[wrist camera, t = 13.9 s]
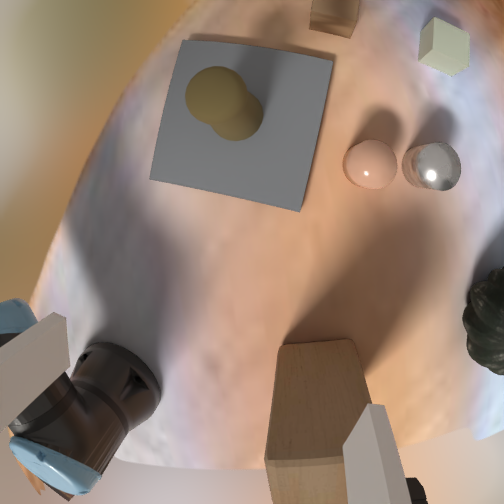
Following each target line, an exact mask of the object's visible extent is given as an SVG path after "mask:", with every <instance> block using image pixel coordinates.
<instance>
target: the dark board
mask: <svg viewBox="0 0 504 504" xmlns="http://www.w3.org/2000/svg"><path fill="white" fill-rule="evenodd" d="M332 65H333V61H330V60H325V59H321V58H317V57H313V56H308V55H303V54H299V53H293V52H288V51H283V50H277V49H271V48H265V47H258V46H251V45H243V44H234V43H224V42H212V41H197V40H183V41H182V44H181V47H180V50H179V54H178V57H177V61H176V64H175V68H174V71H173V75H172V79H171V82H170V86H169V90H168V94H167V98H166V102H165V106H164V110H163V115H162V119H161V123H160V128H159V132H158V137H157V142H156V147H155V152H154V157H153V162H152V167H151V173H150V178H149V179H150V180H155V181H161V182H166V183H171V184H176V185H181V186H186V187H191V188H195V189H200V190H205V191H210V192H214V193H219V194H224V195H228V196H233V197H237V198H241V199H246V200H250V201H255V202H259V203H263V204H267V205H272V206H276V207H280V208H284V209H288V210H292V211H296V212H300V210H301V206H302V201H303V197H304V193H305V189H306V185H307V180H308V176H309V172H310V168H311V163H312V159H313V155H314V150H315V146H316V141H317V137H318V132H319V128H320V123H321V118H322V114H323V109H324V104H325V100H326V95H327V90H328V85H329V80H330V75H331V70H332ZM212 66H223V67H226V68H229V69H232V70H234V71H235V72H237V73H238V74H239V75H240V76H241V77H242V79H243V81H244V82H245V84H246V86H247V91H248V92H250V93H251V94H253V95H254V96H255V97H256V98H257V99H258V100H259V102H260V104H261V105H262V109H263V120H262V124H261V126H260V127H259V129H258V131H257V132H256V133H254V134H253V135H252V136H251V137H249V138H247V139H245V140H240V141H230V140H226V139H224V138H222V137H220V136H219V135H218V134H217V133H216V132H215V131H214V130H213V128H212V127H211V125H209V124H206V123H203V122H201V121H199V120H197V119H196V118H195V117H194V116H193V115H192V114H191V113H190V111H189V109H188V107H187V105H186V100H185V92H186V87H187V85H188V83H189V82H190V80H191V79H192V78H193V77H194V76H195V75H196V74H197V73H198V72H199V71H201V70H203V69H205V68H208V67H212Z"/></svg>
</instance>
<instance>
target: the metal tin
mask: <svg viewBox="0 0 504 504" xmlns="http://www.w3.org/2000/svg"><path fill="white" fill-rule="evenodd" d="M402 171H403V174H404V176H405V178H406V180H407V181H408V182H409V183H410V184H411V185H413V186H415V187H418V188H426V189H433V190H441V191H445V190H449V189H451V188H452V187H454V186H455V185H456V183H457V182H458V180H459V178H460V174H461V164H460V160H459V157H458V155H457V153H456V152H455V150H454V149H453V148H452V147H451V146H449V145H448V144H445V143H442V142H436V143H431V144H426V145H421V146H416V147H412V148H410V149H409V150H408V151H407V152H406V153H405V155H404V157H403V160H402Z"/></svg>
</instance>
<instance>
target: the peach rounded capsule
mask: <svg viewBox="0 0 504 504" xmlns="http://www.w3.org/2000/svg"><path fill="white" fill-rule="evenodd" d="M343 171H344V173H345V175H346V177H347V179H348V180H349V181H350V182H351V183H353V184H355V185H357V186H360V187H365V188H370V189H380V188H383V187H385V186H387V185H389V184H390V183H391V182H392V180H393V179H394V177H395V175H396V172H397V159H396V156H395V154H394V152H393V151H392V149H391V148H390V147H389V146H388V145H387V144H385V143H384V142H382V141H379V140H366V141H363V142H361V143H359V144H357V145H355V146H353V147H351V148H350V149H349V150H348V151H347V152H346V154H345V156H344V158H343Z"/></svg>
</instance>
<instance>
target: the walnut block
mask: <svg viewBox="0 0 504 504" xmlns="http://www.w3.org/2000/svg"><path fill="white" fill-rule="evenodd" d="M359 1H360V0H313V3H312V7H311V15H310V27H309V29H311V30H315V31H320V32H325V33H329V34H333V35H338V36H342V37H346V38H349V39H350V37H351V35H352V32H353V30H354V27H355V24H356V22H357V16H358V8H359Z"/></svg>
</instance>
